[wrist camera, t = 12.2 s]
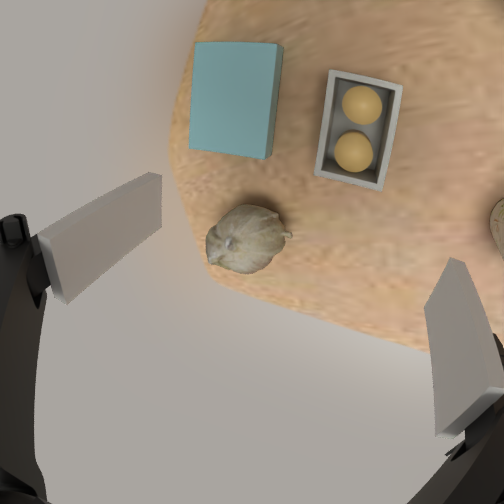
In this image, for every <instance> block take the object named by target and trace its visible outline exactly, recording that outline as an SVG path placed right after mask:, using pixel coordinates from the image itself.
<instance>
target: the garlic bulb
mask: <svg viewBox="0 0 504 504" xmlns="http://www.w3.org/2000/svg"><path fill="white" fill-rule="evenodd" d="M278 216H279V214H278V213H276V212H273V211H271V210H268V209H267V208H264V207H261V206H256V205H248V204H243V205H240V206H238V207H236V208H235V209H233V210H231V211H230V212H229V213H227V214H226V215H225V216H223V217H222V219H221V220H220V221H219V222H218V224H217V225H216V226H213V227H212V228H211V229H210V230H209V232H208V234H207V236H206V254H207V258H208V262H209V264H211V265H213V264H214V265H218V266H220V267H223V268H225V269H228V270H233V271H235V272H238V273H241V274H253V273H255V272H256V271H258V270H261V269H263V268H265V267H266V266H267V265H268V264H269V263H270V262H271V261H272V258H273V256H274V255H276V254H277V253H279V252H280V251H281V250H282V249H283V247H284V246H285V238H284V236H287V237H288V238H292V237H293V236H292V233H291V232H286V231H285V226H284V225H283V224H282V223H281V222H280V220H279V217H278Z"/></svg>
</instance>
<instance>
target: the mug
mask: <svg viewBox="0 0 504 504" xmlns="http://www.w3.org/2000/svg"><path fill="white" fill-rule="evenodd" d="M490 230H491V233H492V235H493V238H494V240H495V242H496V244H497V246H498V249H499V251H500V253H501V256H502V258H503V260H504V199H502V200H501V201H499V202H498V203H497V204H496V206H495V207H494V209H493V211H492V213H491V217H490Z"/></svg>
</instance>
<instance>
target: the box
mask: <svg viewBox="0 0 504 504" xmlns="http://www.w3.org/2000/svg"><path fill="white" fill-rule="evenodd" d="M402 90H403V86H402V85H399V84H395V83H391V82H387V81H384V80H380V79H375V78H371V77H367V76H362V75H358V74H353V73H348V72H343V71H338V70H332V69H329V75H328V82H327V90H326V97H325V104H324V111H323V118H322V125H321V132H320V138H319V145H318V151H317V157H316V163H315V169H314V175H315V176H320V177H324V178H329V179H333V180H337V181H341V182H346V183H350V184H354V185H358V186H362V187H366V188H369V189H373V190H377V191H381V192H382V189H383V185H384V181H385V177H386V172H387V168H388V164H389V159H390V155H391V150H392V145H393V140H394V136H395V130H396V125H397V120H398V114H399V109H400V103H401V97H402Z"/></svg>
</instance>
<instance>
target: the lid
mask: <svg viewBox="0 0 504 504" xmlns="http://www.w3.org/2000/svg"><path fill="white" fill-rule="evenodd" d="M283 49H284V48H283V47H282V46H280V45H278V44H272V43H255V42H195V52H194V64H193V77H192V92H191V109H190V129H189V149H197V150H205V151H212V152H219V153H226V154H232V155H239V156H245V157H251V158H257V159H262V160H265V159H266V158H268V157H269V156H271V154H272V145H273V137H274V128H275V120H276V111H277V102H278V93H279V85H280V76H281V67H282V58H283Z"/></svg>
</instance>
